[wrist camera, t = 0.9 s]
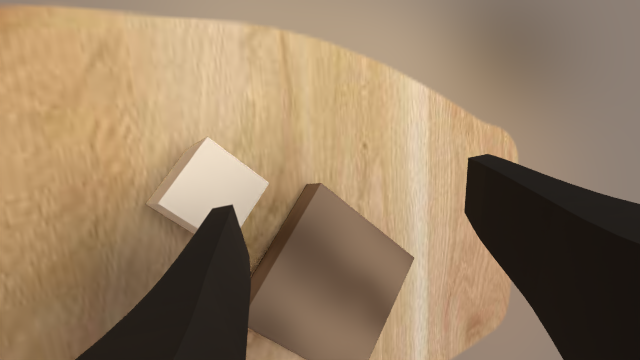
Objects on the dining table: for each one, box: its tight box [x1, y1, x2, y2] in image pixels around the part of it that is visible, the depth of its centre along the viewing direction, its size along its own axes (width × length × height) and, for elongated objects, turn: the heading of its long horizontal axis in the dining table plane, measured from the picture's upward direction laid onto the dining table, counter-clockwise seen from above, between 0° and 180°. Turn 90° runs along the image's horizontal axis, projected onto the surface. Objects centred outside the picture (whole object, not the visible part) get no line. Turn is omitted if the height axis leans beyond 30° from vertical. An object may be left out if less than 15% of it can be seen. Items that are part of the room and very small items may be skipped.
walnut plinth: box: [248, 183, 414, 360], centre depth 27 cm, size 10×10×2 cm
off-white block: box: [146, 137, 269, 234], centre depth 21 cm, size 4×4×5 cm
